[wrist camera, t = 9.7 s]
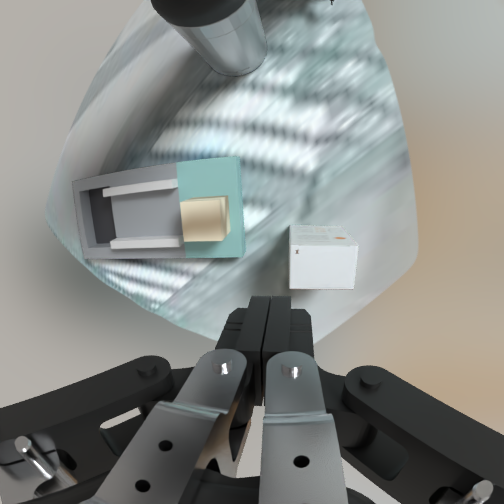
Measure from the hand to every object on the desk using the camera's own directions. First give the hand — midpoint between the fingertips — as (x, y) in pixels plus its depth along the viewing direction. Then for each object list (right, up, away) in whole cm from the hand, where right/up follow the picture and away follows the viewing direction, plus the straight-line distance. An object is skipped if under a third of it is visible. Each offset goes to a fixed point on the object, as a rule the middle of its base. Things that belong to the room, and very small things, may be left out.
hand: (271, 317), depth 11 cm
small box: (+9, +4, +31) cm, 32 cm away
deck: (-16, +9, +32) cm, 37 cm away
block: (-6, +8, +28) cm, 30 cm away
